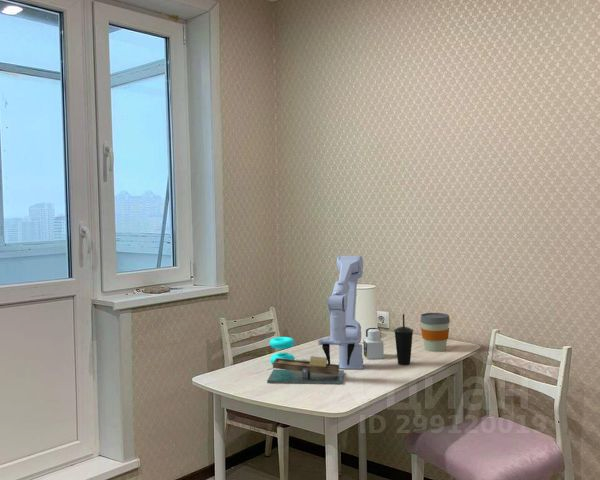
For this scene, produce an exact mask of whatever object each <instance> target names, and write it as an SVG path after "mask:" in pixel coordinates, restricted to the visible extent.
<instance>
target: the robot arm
mask: <svg viewBox="0 0 600 480" xmlns="http://www.w3.org/2000/svg"><path fill="white" fill-rule="evenodd" d="M363 259H364V258H363V256H362V255H341V254H339V255H338V256H337V258H336V269H337V272H338V275H339V276H338V280H336V281H335V283H334V285H333V290H332V293H331V295H330V296H328V299H327V309H328V316H329V322H330V323H329V325H330V326H329V330H330V333H329V334H330V336H329V337H330V338H329V337H328V338H318V340H317V342H318V346H321V349H322V351H323V352H324V354H325V358H327V364H328V365H330V364H331V357H330V355H331V354H330V352H331V349H330V348H331V347H330V346H335V345H336V346H338V353H339V354H338V355H339V357H338V360H339V361H338V364H337V365H339V370H340V369H341V370H344V369H345V370H362V369H363V364H364V358H363V344H360V343H361V341H362V326H361V324H360V323H359V322H358V321H357V320H356V319H355V317H356V316H355V315H356V301H357V286H358V280H359V279H360V278H362V277H363V273H364V272H363V271H364V270H363V269H364V260H363Z"/></svg>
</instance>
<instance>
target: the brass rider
mask: <svg viewBox="0 0 600 480" xmlns="http://www.w3.org/2000/svg"><path fill="white" fill-rule="evenodd" d="M309 361H310V366H314V367H323V368H326V366H327V364H328V361H327V357H321V356H310V359H309Z"/></svg>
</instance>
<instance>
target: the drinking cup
mask: <svg viewBox="0 0 600 480" xmlns="http://www.w3.org/2000/svg"><path fill="white" fill-rule="evenodd" d="M393 331H394V337H395V348H396V357H397V365H400V366H409V365H411V357H412V345H413V334H414V329H413V328H410V327H409V326H406V325H405V313H402V326H399V327H395V328H394V329H393Z"/></svg>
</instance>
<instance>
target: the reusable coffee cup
mask: <svg viewBox="0 0 600 480" xmlns="http://www.w3.org/2000/svg"><path fill="white" fill-rule="evenodd" d="M420 323H421V327H420V330H421V336H422V339H423V344H424V345H423V346H424V350H425V351H428V352H434V353H437V352H439V353H441V352H445V351H446V349H447V342H448V339H449V333H450V328H449V327H450V326H449V325H450V323H451V320H450V315H449V314H448V313H443V312H425V313H422V314H421V315H420Z"/></svg>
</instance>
